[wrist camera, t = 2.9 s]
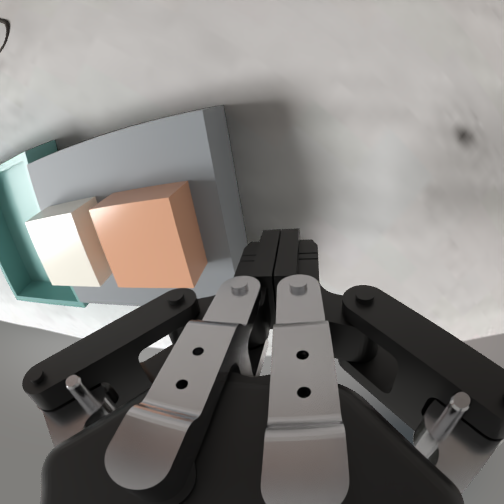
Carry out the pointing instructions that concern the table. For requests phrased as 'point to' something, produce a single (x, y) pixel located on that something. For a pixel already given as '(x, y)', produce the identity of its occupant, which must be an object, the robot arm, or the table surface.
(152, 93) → the table surface
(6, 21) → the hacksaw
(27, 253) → the box
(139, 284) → the terracotta tile
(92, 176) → the grey flat block
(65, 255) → the cream tile
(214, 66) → the table surface
